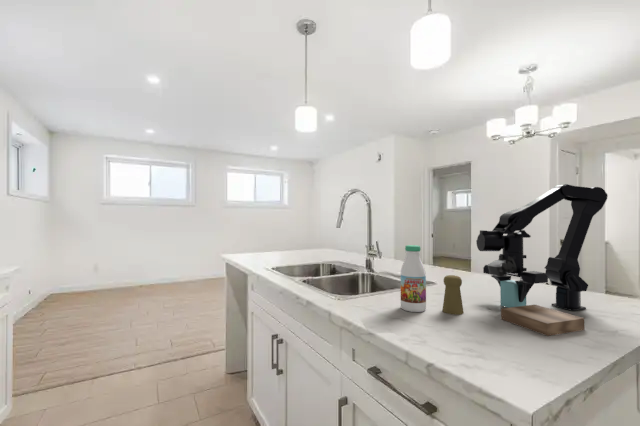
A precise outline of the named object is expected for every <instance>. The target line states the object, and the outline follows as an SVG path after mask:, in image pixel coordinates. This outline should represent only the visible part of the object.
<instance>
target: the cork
mask: <svg viewBox="0 0 640 426" xmlns="http://www.w3.org/2000/svg"><path fill="white" fill-rule="evenodd" d="M443 284H444V286H445V288H444V295H443V304H442V312H443V313H445V314H448V315H455V316H456V315H458V316H459V315H463V314H464V305H463V299H462V292H461V286H462V284H463V280H462V278H461V277H460V276H458V275H456V274H455V275H453V274H450V275H446V276H444V277H443Z"/></svg>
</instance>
